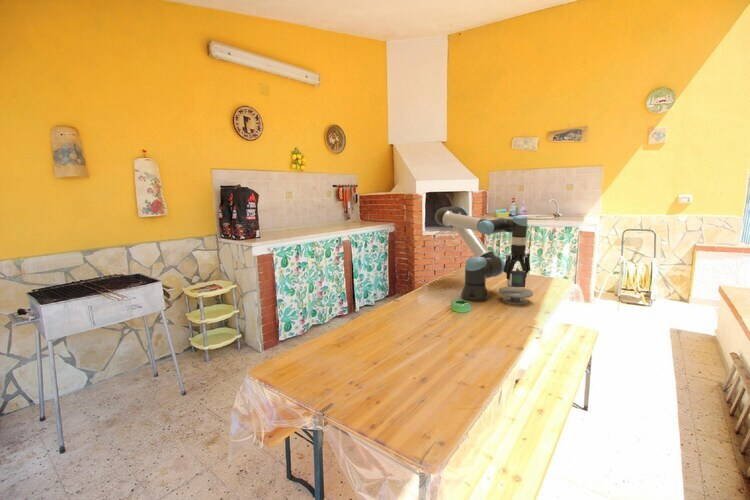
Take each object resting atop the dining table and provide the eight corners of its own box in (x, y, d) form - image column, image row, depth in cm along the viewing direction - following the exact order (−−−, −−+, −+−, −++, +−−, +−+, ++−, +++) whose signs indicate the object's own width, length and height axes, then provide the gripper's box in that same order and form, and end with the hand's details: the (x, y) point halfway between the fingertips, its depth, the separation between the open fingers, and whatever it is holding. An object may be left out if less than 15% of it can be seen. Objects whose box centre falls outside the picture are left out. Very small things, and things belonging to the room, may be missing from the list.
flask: (508, 286, 199) (509, 268, 198) (507, 285, 202) (508, 266, 200) (525, 287, 198) (527, 268, 196) (524, 286, 200) (525, 267, 199)
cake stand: (511, 308, 191) (512, 297, 190) (491, 298, 208) (492, 288, 207) (539, 304, 196) (540, 294, 194) (518, 295, 213) (518, 285, 211)
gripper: (506, 246, 189) (503, 287, 193) (539, 244, 195) (536, 284, 199) (497, 244, 196) (495, 284, 201) (530, 242, 202) (527, 280, 206)
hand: (516, 284), depth 200 cm, fingers closed on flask, 8 cm apart
